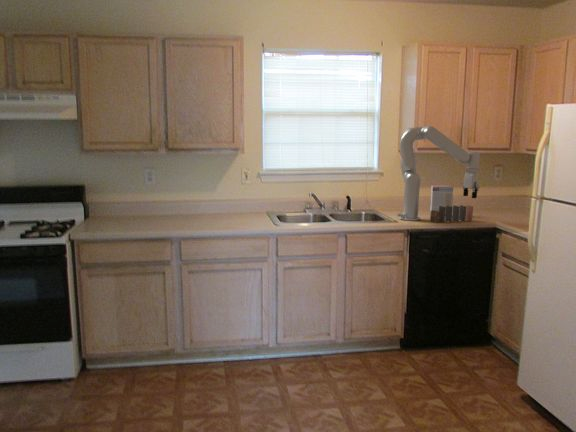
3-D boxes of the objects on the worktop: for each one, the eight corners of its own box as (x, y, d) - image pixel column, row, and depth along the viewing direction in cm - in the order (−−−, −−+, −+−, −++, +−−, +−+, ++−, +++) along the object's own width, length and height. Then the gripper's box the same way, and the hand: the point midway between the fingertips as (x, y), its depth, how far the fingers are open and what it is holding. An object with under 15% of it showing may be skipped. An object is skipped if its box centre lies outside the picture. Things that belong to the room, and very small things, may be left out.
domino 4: (463, 221, 334) (464, 206, 333) (458, 220, 339) (459, 205, 337) (465, 221, 335) (466, 206, 333) (461, 220, 339) (462, 205, 338)
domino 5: (469, 221, 335) (471, 206, 334) (465, 220, 340) (466, 205, 339) (472, 221, 336) (473, 206, 334) (467, 219, 341) (468, 205, 339)
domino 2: (449, 222, 332) (450, 206, 330) (445, 220, 337) (446, 205, 335) (451, 222, 332) (452, 206, 331) (447, 220, 337) (448, 205, 335)
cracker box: (450, 215, 360) (451, 185, 356) (451, 216, 354) (453, 186, 350) (429, 214, 361) (431, 185, 357) (431, 215, 355) (432, 185, 351)
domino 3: (456, 221, 333) (457, 206, 331) (452, 220, 338) (453, 205, 336) (458, 221, 334) (459, 206, 332) (454, 220, 338) (455, 205, 337)
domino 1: (442, 222, 331) (443, 207, 329) (438, 221, 336) (439, 206, 334) (444, 222, 331) (445, 207, 330) (440, 220, 336) (441, 205, 334)
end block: (435, 222, 329) (436, 212, 327) (430, 221, 335) (430, 210, 334) (439, 222, 329) (439, 212, 328) (433, 220, 336) (434, 210, 335)
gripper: (459, 169, 340) (457, 195, 343) (474, 172, 323) (472, 198, 326) (469, 169, 342) (467, 195, 345) (485, 172, 325) (482, 198, 328)
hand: (469, 197), depth 335 cm, fingers open, 9 cm apart
